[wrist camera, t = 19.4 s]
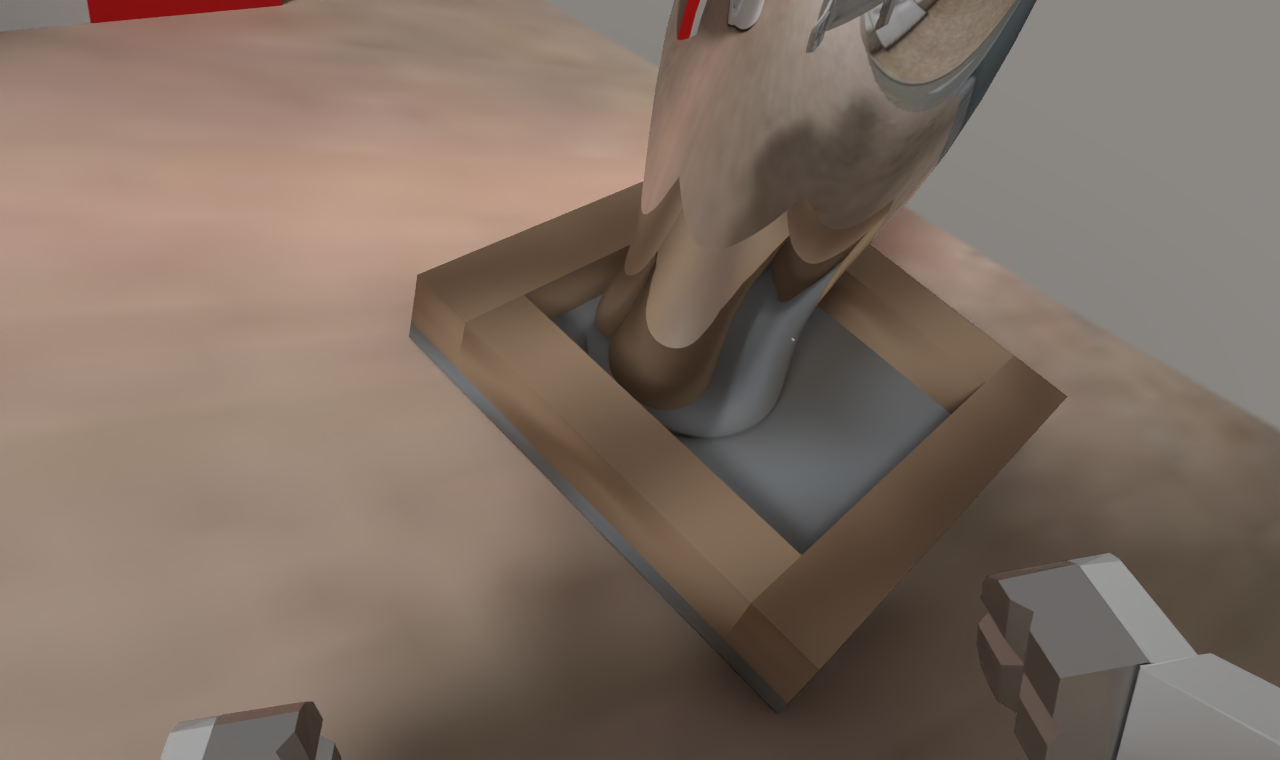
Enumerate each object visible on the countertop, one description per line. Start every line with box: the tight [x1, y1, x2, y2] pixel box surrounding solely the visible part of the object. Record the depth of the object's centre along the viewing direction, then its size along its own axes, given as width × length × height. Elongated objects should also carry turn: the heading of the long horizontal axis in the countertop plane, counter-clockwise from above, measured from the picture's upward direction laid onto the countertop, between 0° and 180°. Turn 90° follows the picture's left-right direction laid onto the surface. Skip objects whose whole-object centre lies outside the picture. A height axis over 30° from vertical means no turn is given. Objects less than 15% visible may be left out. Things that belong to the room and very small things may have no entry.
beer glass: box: [586, 0, 1037, 438], centre depth 22 cm, size 7×7×15 cm
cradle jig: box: [409, 182, 1067, 713], centre depth 27 cm, size 14×14×2 cm
